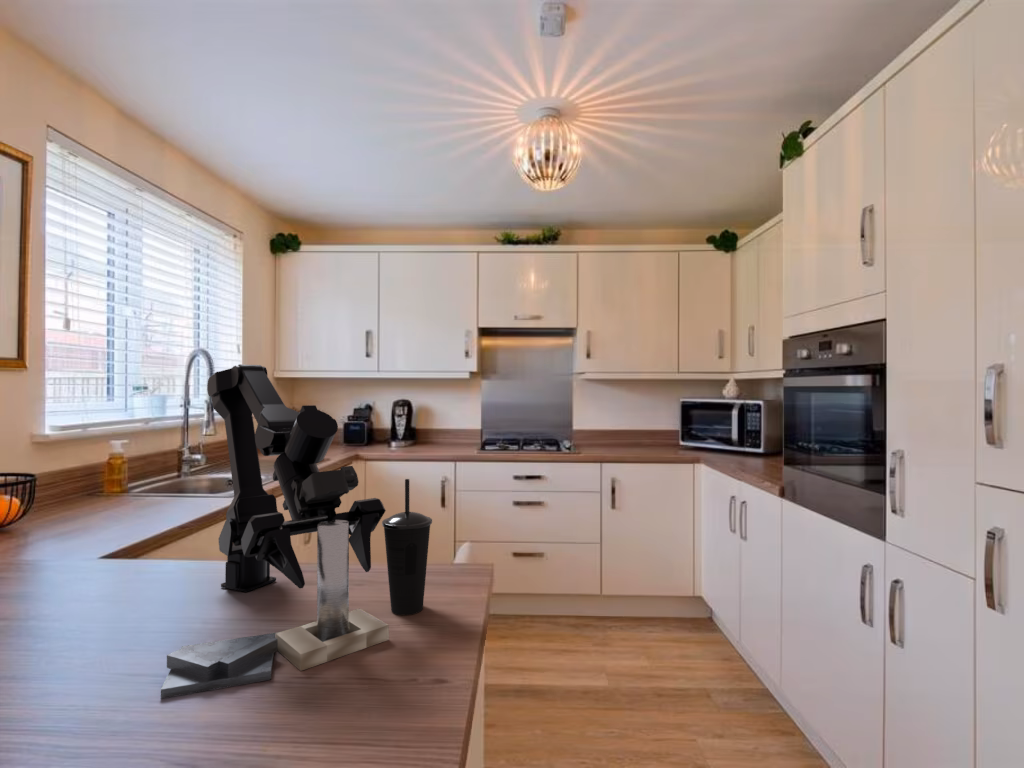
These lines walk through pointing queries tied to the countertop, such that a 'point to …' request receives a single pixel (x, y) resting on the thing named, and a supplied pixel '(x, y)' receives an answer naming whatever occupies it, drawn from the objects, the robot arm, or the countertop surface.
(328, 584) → the axle
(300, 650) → the beige rectangular frame
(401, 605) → the drinking cup
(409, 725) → the countertop surface
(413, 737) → the countertop surface
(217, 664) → the v block
